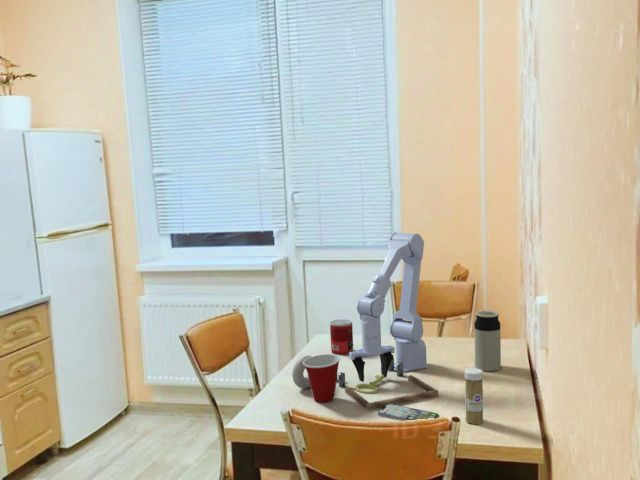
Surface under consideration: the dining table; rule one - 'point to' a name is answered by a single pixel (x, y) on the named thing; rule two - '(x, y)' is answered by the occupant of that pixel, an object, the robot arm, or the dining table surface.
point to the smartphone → (404, 413)
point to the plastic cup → (322, 376)
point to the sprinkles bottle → (474, 395)
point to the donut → (300, 373)
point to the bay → (399, 400)
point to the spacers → (391, 368)
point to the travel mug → (487, 341)
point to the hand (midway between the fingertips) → (372, 378)
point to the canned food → (341, 336)
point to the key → (370, 385)
